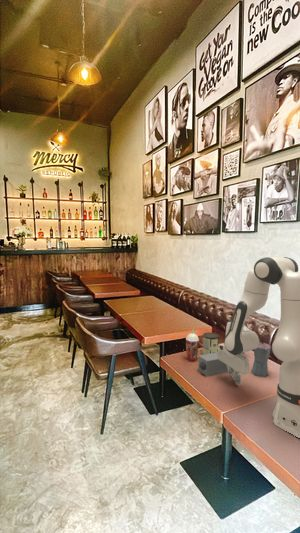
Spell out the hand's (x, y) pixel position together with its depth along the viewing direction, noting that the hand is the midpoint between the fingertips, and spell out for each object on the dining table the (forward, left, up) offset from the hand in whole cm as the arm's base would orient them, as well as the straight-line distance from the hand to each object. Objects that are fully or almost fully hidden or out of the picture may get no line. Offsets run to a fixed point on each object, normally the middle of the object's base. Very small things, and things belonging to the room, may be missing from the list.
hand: (232, 375), depth 146 cm
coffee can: (+35, -12, -5) cm, 37 cm away
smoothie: (+34, +3, -5) cm, 35 cm away
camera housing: (+16, 0, -5) cm, 17 cm away
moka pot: (+4, -24, -5) cm, 25 cm away
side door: (+2, -4, -5) cm, 6 cm away
